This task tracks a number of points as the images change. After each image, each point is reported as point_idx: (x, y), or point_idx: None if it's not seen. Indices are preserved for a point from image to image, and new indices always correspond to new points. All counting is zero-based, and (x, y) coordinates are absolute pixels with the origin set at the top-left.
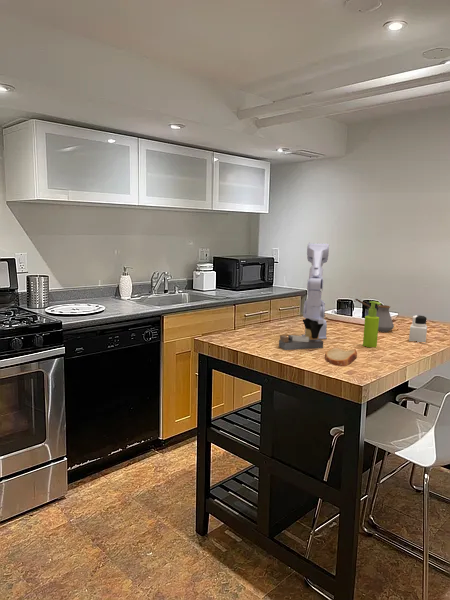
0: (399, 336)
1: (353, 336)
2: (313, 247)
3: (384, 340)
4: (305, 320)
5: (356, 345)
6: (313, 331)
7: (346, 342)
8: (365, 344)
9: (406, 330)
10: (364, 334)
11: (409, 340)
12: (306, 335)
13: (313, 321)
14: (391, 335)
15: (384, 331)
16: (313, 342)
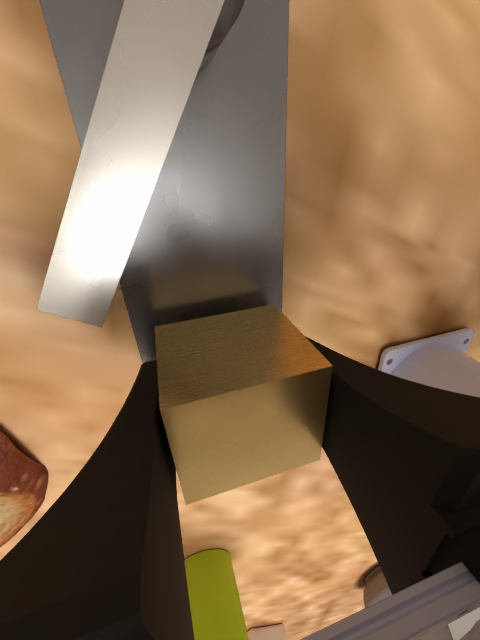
0: (312, 604)
1: (357, 518)
2: None
3: (277, 587)
4: (468, 474)
5: (215, 531)
6: (107, 438)
7: (276, 500)
8: (188, 571)
9: (362, 604)
10: (212, 632)
11: (251, 633)
12: (256, 321)
13: (388, 548)
14: (329, 591)
15: (368, 579)
16: (139, 343)
